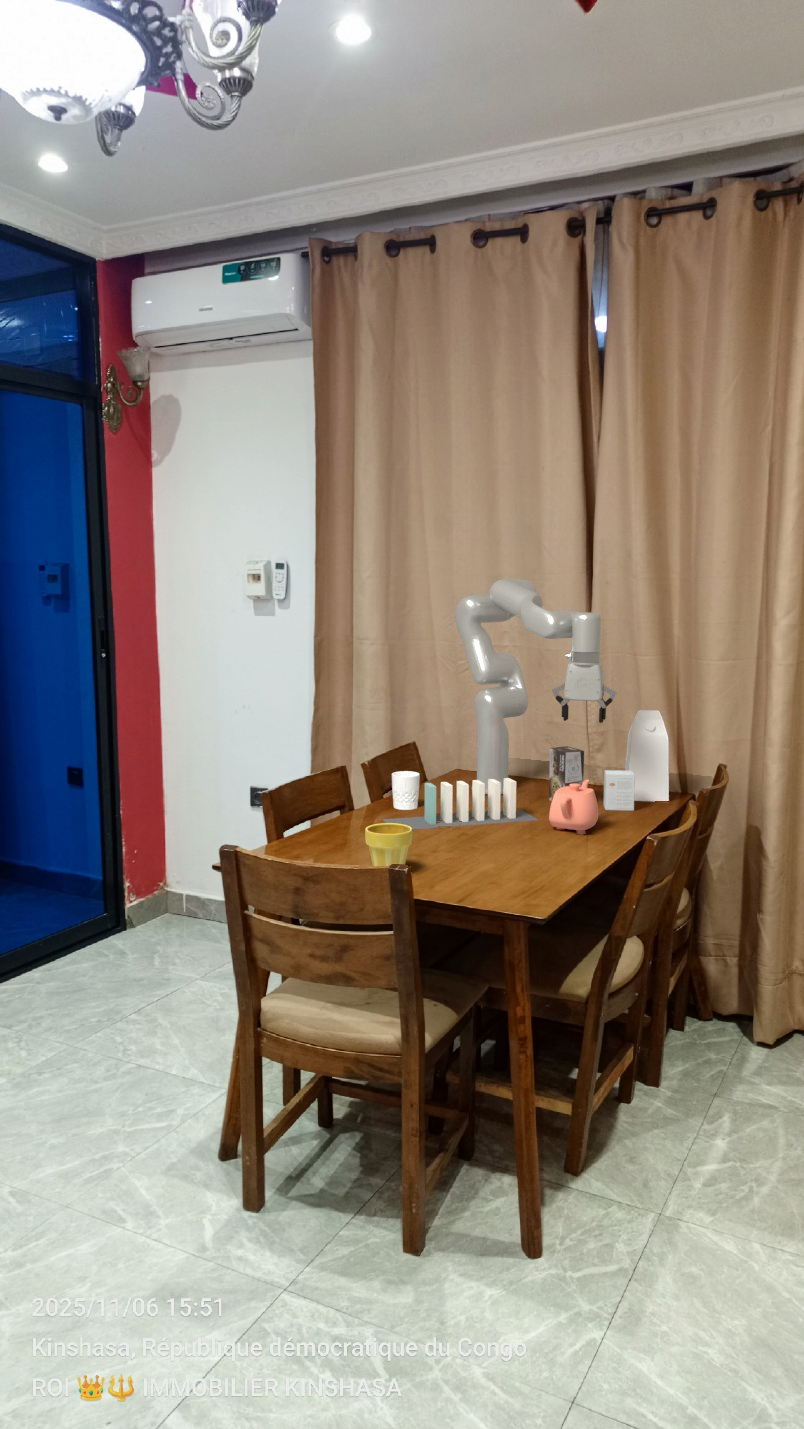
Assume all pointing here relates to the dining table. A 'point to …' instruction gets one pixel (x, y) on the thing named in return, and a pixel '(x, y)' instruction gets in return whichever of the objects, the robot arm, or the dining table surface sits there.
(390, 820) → the mat
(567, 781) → the coffee box
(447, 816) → the domino
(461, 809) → the domino
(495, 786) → the domino
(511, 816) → the domino
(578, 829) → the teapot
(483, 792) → the domino
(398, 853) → the plant pot
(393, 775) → the white cup
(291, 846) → the dining table surface
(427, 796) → the domino
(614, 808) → the small box
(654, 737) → the milk
